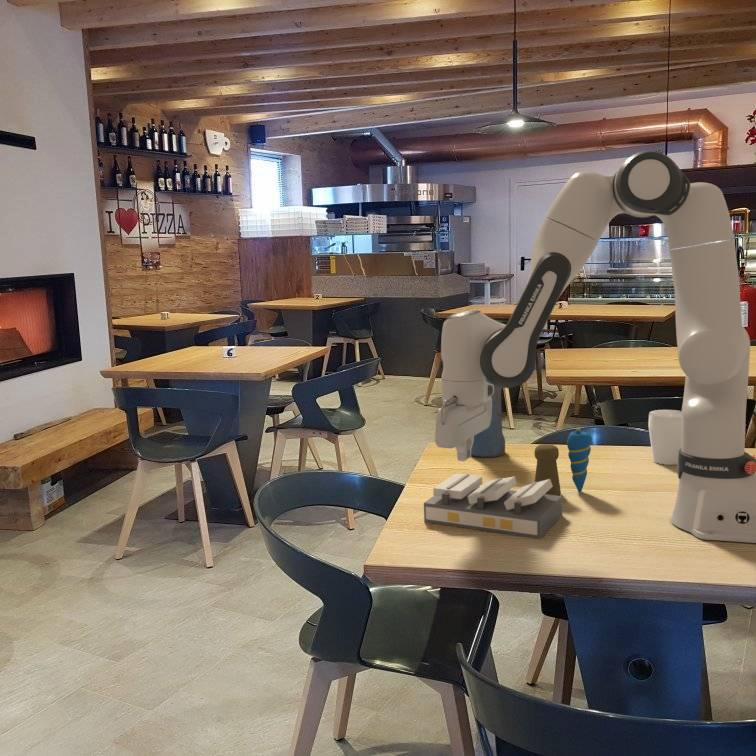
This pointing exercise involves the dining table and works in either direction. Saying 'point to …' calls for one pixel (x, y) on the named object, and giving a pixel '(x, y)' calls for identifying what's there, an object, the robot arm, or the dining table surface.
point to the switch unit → (495, 514)
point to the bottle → (491, 431)
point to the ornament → (579, 455)
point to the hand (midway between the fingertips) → (464, 459)
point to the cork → (547, 467)
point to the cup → (665, 435)
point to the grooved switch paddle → (458, 485)
